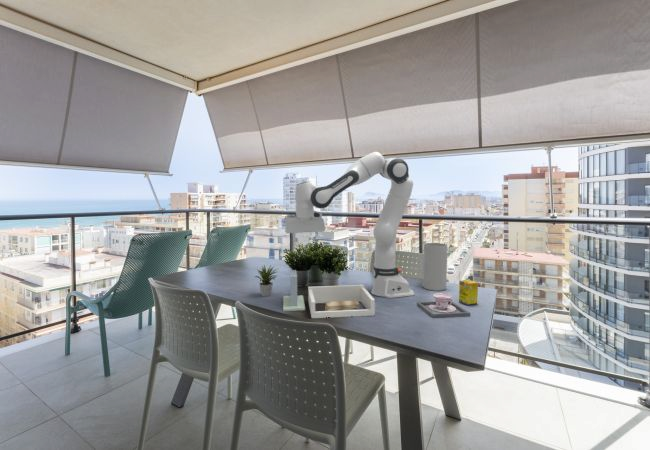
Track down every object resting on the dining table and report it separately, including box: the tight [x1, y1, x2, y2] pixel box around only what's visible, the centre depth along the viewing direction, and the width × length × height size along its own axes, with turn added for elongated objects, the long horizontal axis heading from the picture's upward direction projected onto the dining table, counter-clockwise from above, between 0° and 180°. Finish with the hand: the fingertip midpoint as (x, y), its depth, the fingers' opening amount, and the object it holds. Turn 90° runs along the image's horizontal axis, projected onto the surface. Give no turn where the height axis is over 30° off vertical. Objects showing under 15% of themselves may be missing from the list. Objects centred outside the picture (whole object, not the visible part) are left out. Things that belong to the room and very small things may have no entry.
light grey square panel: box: [289, 269, 298, 306], centre depth 160 cm, size 14×3×14 cm, turn 7°
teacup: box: [428, 292, 457, 313], centre depth 153 cm, size 12×12×6 cm
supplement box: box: [458, 279, 479, 307], centre depth 160 cm, size 6×6×11 cm
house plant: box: [254, 264, 280, 297], centre depth 173 cm, size 14×14×16 cm
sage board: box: [282, 294, 306, 312], centre depth 160 cm, size 10×20×1 cm, turn 7°
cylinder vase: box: [422, 242, 448, 292], centre depth 186 cm, size 12×12×25 cm
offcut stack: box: [324, 300, 361, 311], centre depth 148 cm, size 15×6×4 cm, turn 102°
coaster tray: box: [416, 300, 471, 319], centre depth 150 cm, size 17×17×2 cm
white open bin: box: [307, 284, 376, 319], centre depth 153 cm, size 28×22×8 cm
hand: (305, 241), depth 168 cm, fingers open, 8 cm apart
